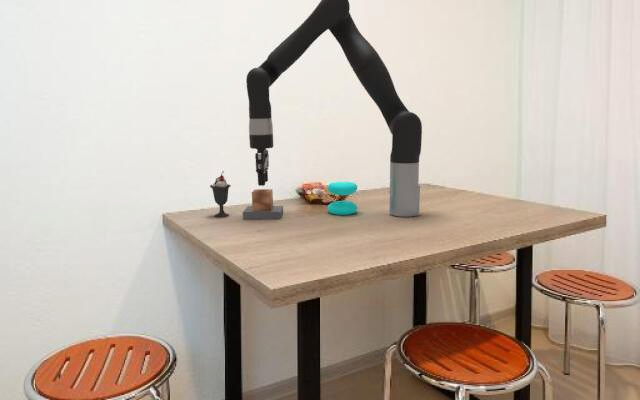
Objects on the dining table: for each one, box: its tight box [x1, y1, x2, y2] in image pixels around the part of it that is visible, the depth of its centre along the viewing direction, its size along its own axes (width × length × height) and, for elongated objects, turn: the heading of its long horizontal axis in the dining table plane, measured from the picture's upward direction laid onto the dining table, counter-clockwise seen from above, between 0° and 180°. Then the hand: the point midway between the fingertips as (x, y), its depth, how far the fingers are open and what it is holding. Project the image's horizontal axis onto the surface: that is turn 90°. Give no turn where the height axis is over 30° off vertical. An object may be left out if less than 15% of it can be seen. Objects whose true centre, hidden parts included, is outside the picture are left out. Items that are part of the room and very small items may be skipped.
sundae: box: [209, 170, 231, 218], centre depth 159 cm, size 7×7×15 cm
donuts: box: [327, 181, 358, 216], centre depth 162 cm, size 10×10×10 cm
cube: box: [251, 188, 274, 211], centre depth 158 cm, size 6×6×6 cm
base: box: [242, 205, 284, 221], centre depth 159 cm, size 12×10×3 cm
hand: (263, 183), depth 157 cm, fingers open, 8 cm apart
